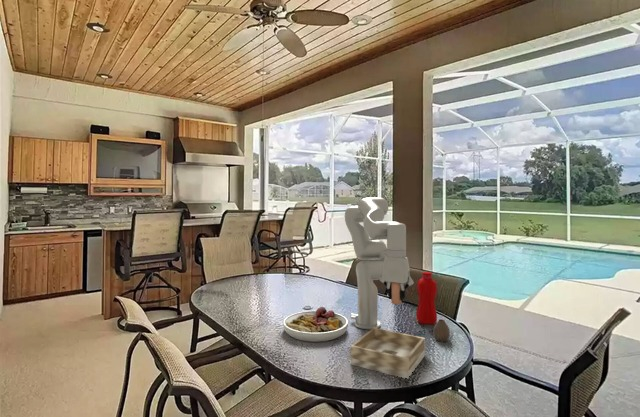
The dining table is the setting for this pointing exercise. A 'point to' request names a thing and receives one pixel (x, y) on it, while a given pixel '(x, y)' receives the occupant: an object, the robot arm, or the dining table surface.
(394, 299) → the peg
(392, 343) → the insert box
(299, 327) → the bowl
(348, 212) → the robot arm
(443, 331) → the vase
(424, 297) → the water bottle
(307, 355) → the dining table surface
